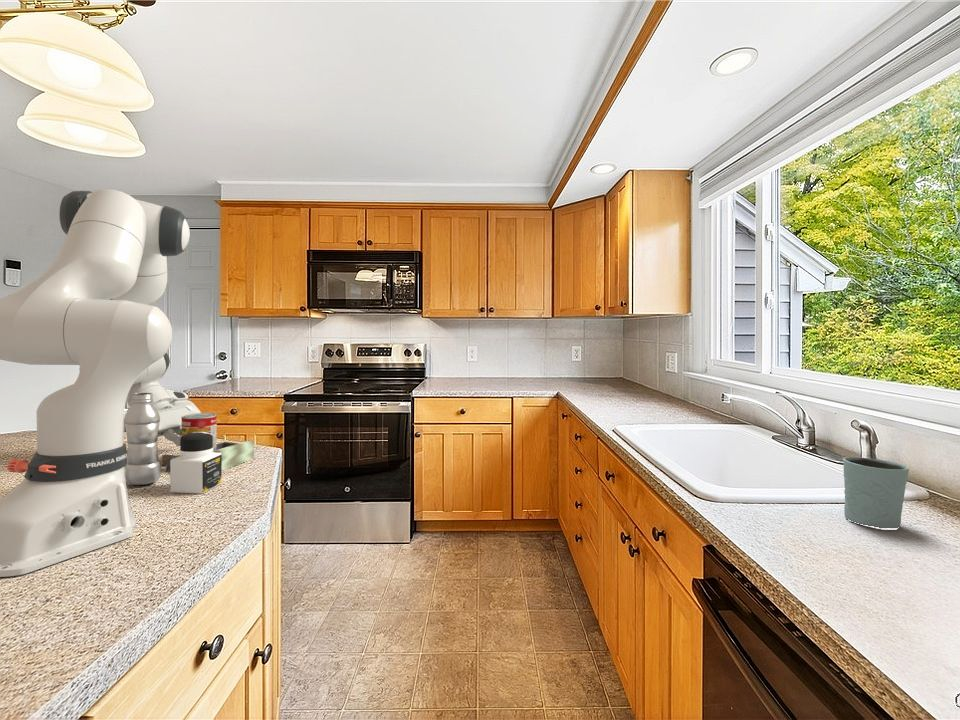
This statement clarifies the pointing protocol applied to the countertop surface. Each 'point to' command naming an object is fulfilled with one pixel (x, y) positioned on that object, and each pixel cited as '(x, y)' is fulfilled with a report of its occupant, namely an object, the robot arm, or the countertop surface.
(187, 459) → the medicine bottle
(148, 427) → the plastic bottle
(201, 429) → the canned food
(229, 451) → the trap lane
